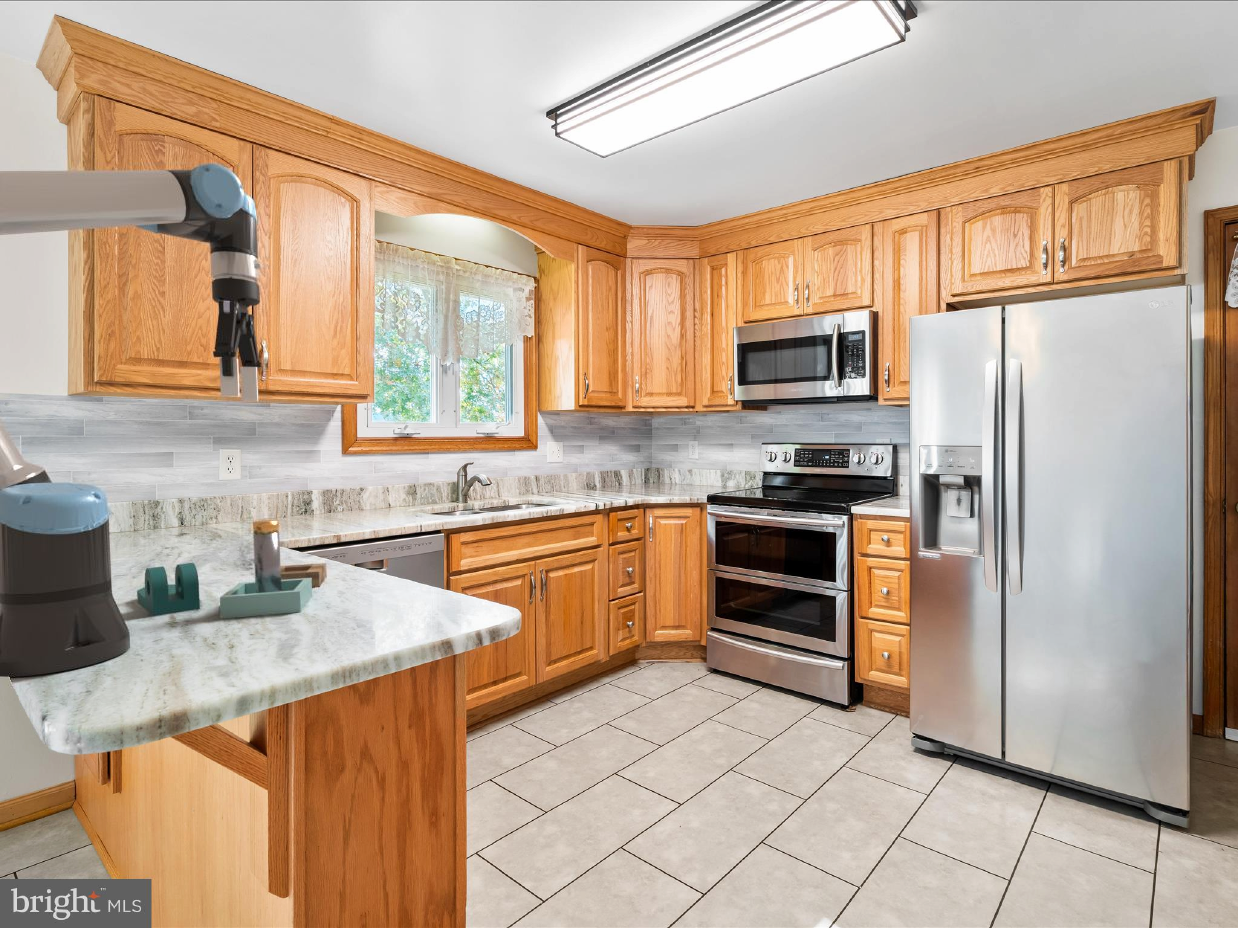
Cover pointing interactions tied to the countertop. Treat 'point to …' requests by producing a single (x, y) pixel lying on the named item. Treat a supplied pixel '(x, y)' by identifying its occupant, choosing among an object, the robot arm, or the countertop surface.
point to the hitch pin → (267, 556)
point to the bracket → (170, 590)
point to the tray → (266, 599)
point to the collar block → (305, 572)
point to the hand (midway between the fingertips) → (240, 399)
